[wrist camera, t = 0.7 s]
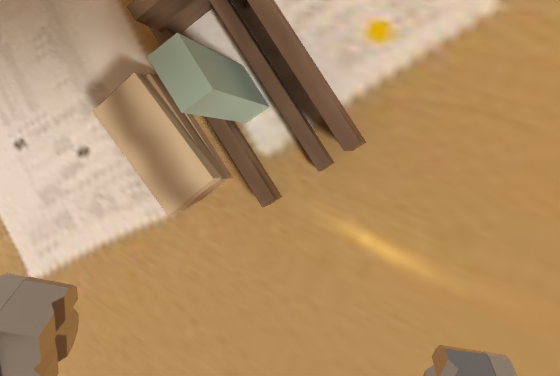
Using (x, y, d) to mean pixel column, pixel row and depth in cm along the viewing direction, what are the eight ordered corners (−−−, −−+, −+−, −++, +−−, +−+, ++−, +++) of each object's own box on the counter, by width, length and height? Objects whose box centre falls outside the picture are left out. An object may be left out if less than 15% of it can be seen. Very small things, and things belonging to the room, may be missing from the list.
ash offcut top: (145, 75, 51) (134, 72, 49) (221, 177, 50) (213, 178, 48) (105, 113, 53) (92, 111, 50) (178, 213, 51) (168, 215, 49)
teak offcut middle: (159, 76, 53) (149, 73, 51) (228, 178, 52) (220, 179, 50) (118, 110, 55) (107, 109, 52) (185, 210, 54) (175, 212, 52)
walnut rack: (248, -39, 51) (221, -72, 44) (366, 142, 50) (359, 141, 42) (161, 31, 54) (121, 11, 46) (270, 204, 53) (247, 213, 45)
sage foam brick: (243, 66, 52) (177, 32, 37) (269, 106, 52) (213, 89, 37) (221, 83, 53) (146, 56, 38) (246, 123, 53) (181, 112, 37)
